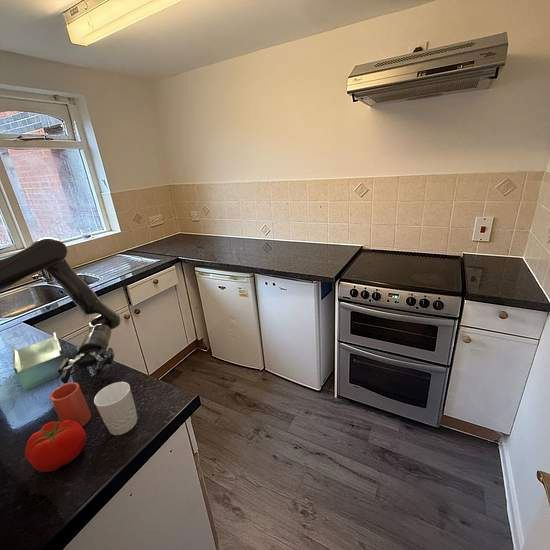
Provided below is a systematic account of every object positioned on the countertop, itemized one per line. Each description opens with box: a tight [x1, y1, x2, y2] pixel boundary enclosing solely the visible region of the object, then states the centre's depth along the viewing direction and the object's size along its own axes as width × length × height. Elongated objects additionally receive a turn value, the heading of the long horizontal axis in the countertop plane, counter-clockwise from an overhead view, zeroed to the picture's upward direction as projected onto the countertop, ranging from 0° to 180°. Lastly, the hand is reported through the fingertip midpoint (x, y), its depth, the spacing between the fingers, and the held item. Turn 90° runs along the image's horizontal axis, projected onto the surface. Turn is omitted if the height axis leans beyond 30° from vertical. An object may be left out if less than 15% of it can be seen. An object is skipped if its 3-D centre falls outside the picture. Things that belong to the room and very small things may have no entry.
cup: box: [49, 381, 92, 428], centre depth 76 cm, size 6×6×10 cm
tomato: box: [24, 419, 87, 473], centre depth 66 cm, size 11×11×9 cm
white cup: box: [93, 381, 139, 436], centre depth 74 cm, size 8×8×10 cm
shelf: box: [12, 332, 71, 392], centre depth 99 cm, size 16×12×8 cm
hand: (80, 376), depth 84 cm, fingers open, 8 cm apart
